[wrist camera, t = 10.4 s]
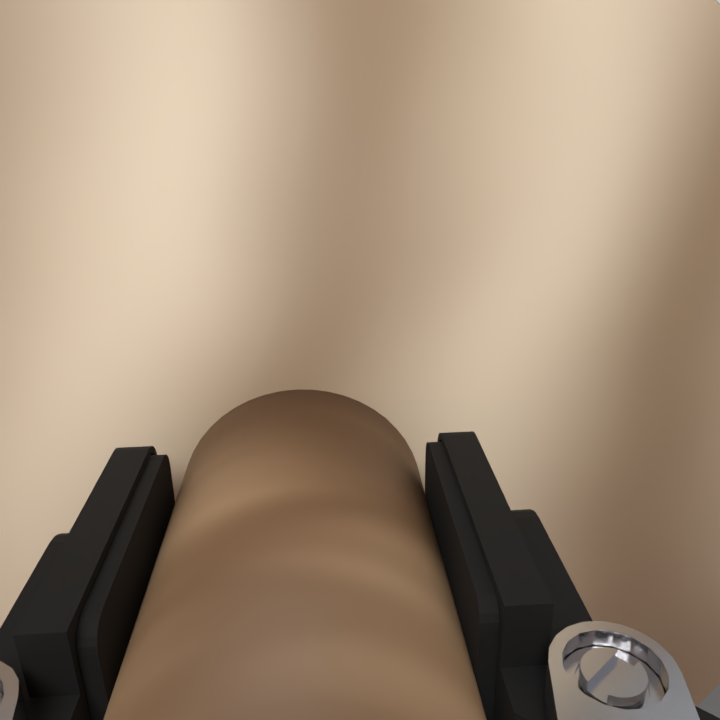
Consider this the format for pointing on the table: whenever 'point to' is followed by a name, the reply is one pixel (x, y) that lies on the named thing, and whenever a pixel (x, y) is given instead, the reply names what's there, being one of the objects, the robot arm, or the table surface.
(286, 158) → the lid
